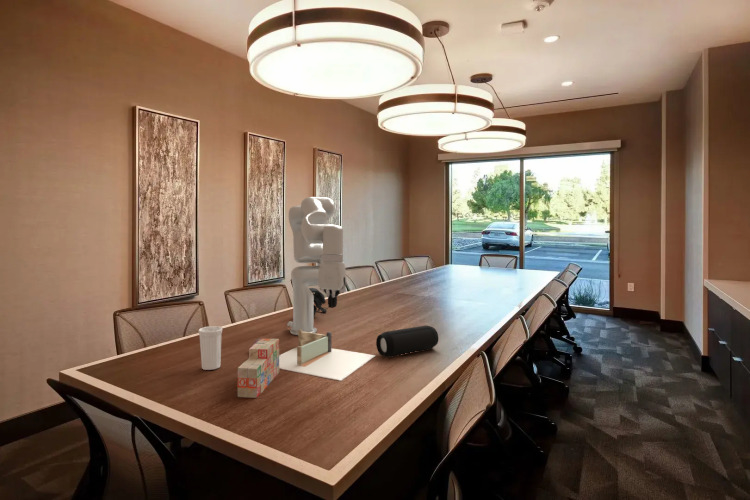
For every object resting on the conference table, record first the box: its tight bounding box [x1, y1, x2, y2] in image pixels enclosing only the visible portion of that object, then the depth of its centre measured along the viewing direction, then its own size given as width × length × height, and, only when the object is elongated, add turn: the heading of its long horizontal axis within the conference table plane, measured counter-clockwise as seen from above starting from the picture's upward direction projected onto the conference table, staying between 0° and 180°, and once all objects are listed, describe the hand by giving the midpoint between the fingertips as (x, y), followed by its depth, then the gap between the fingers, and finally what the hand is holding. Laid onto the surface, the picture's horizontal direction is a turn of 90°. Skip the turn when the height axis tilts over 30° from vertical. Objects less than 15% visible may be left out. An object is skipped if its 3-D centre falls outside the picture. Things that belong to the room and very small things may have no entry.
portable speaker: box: [375, 325, 439, 358], centre depth 168 cm, size 26×10×10 cm, turn 121°
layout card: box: [279, 346, 376, 382], centre depth 158 cm, size 34×28×1 cm
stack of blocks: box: [236, 338, 280, 399], centre depth 135 cm, size 21×6×12 cm, turn 175°
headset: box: [308, 287, 329, 317], centre depth 228 cm, size 16×12×27 cm
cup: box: [197, 325, 223, 371], centre depth 148 cm, size 8×8×14 cm
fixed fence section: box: [297, 329, 333, 352], centre depth 170 cm, size 16×2×8 cm, turn 66°
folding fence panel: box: [296, 337, 328, 364], centre depth 158 cm, size 18×2×6 cm, turn 150°
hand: (332, 306), depth 155 cm, fingers closed
